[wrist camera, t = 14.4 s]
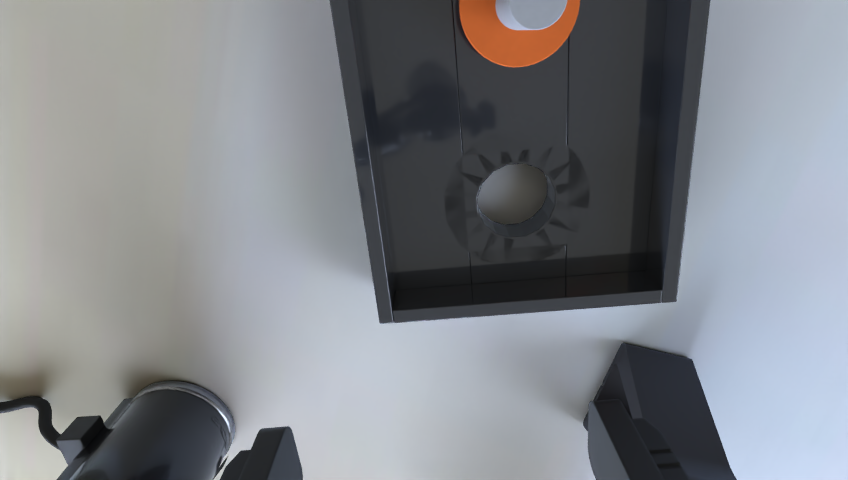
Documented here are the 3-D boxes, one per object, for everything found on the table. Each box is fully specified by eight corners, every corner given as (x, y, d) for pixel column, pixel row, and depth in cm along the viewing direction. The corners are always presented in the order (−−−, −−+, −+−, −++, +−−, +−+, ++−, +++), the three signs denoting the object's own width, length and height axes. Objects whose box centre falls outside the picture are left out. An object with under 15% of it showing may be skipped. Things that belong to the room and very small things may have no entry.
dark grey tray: (383, 302, 37) (379, 324, 34) (321, -115, 27) (309, -132, 24) (658, 281, 36) (676, 302, 33) (699, -162, 26) (731, -185, 23)
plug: (461, 69, 30) (469, 81, 23) (453, -50, 28) (460, -79, 21) (566, 58, 30) (609, 67, 23) (567, -64, 28) (616, -97, 20)
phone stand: (644, 437, 45) (713, 570, 34) (581, 423, 44) (631, 553, 33) (690, 357, 41) (784, 476, 30) (623, 340, 41) (693, 455, 30)
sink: (386, 286, 39) (383, 302, 37) (330, -104, 29) (321, -115, 27) (644, 266, 38) (658, 281, 36) (677, -146, 28) (699, -162, 26)
